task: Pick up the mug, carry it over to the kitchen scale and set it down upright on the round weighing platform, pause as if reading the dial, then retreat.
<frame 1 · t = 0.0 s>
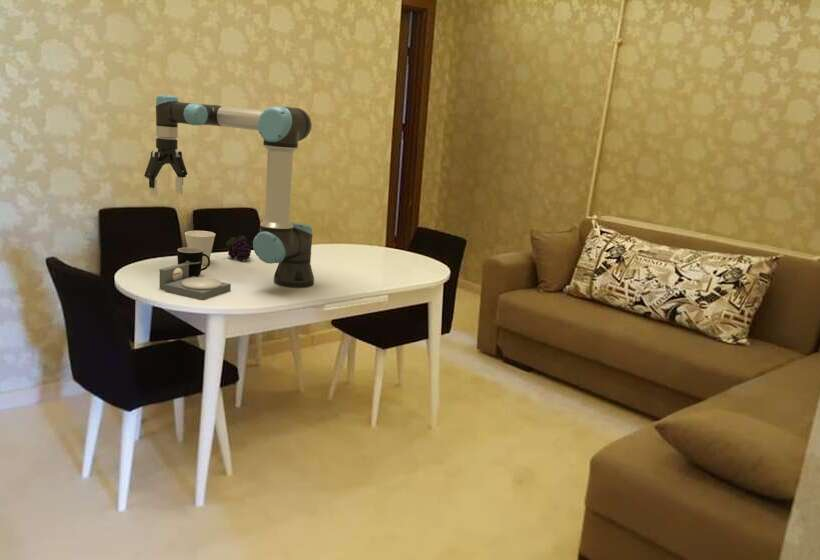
hand: (166, 195, 248), 28 cm above the table, fingers open, 13 cm apart
fruit: (238, 259, 280), on the table
cup: (199, 264, 265), on the table
mug: (193, 276, 246), on the table
scale: (198, 291, 228), on the table
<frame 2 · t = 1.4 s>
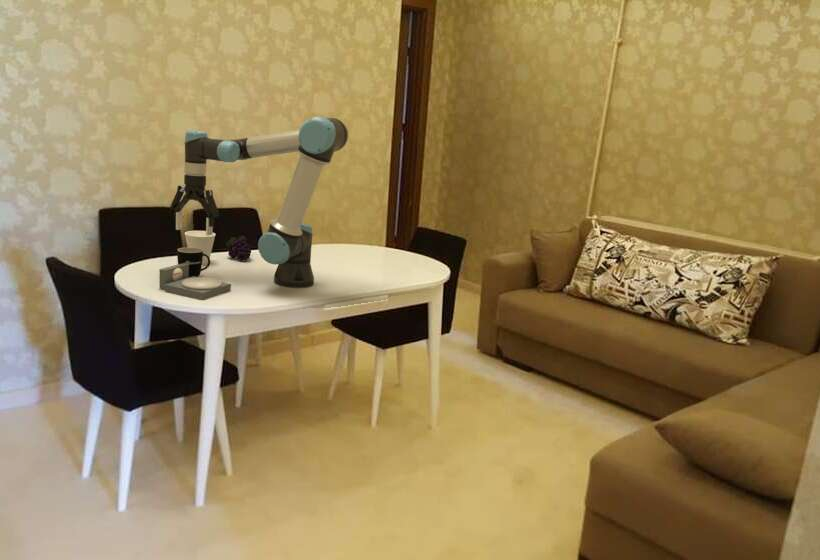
hand: (194, 232, 242), 17 cm above the table, fingers open, 13 cm apart
nothing on the table moved.
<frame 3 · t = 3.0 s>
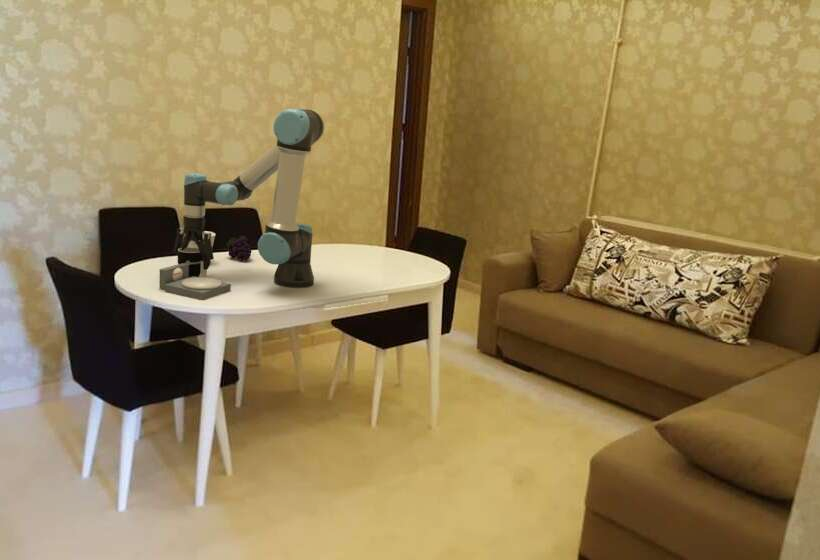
hand: (192, 274, 246), 0 cm above the table, fingers open, 9 cm apart
mug: (194, 276, 246), on the table, touching gripper
everything else where it was.
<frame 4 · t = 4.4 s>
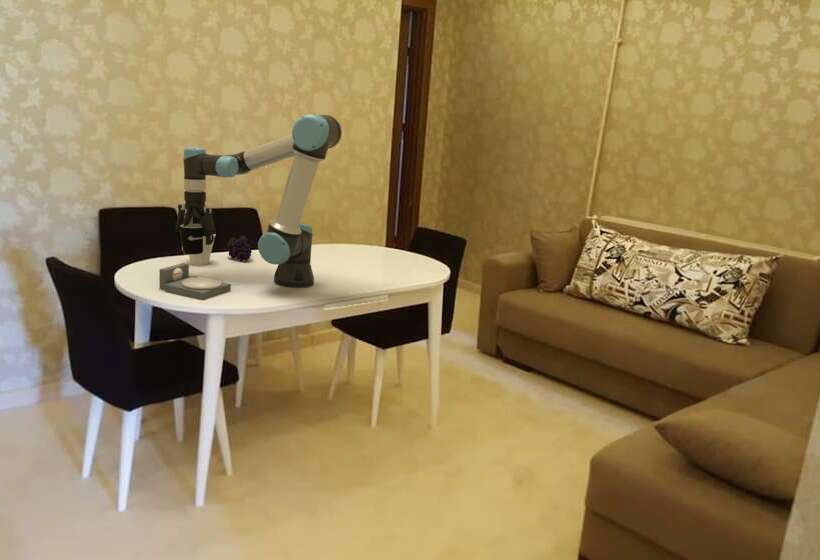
hand: (195, 251, 243), 10 cm above the table, fingers closed on mug, 9 cm apart
mug: (197, 253, 243), point 9 cm above the table, touching gripper
everything else where it was.
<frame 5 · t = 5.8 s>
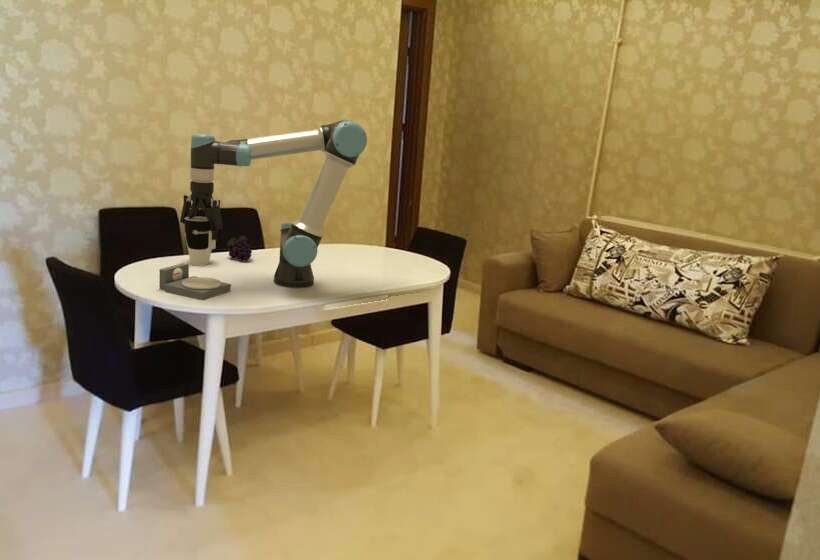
hand: (200, 246, 226), 16 cm above the table, fingers closed on mug, 9 cm apart
mug: (202, 248, 225), point 15 cm above the table, touching gripper
everything else where it was.
when the fingers open (5 cm above the table, at t = 8.5 s): mug drops 1 cm, resting on scale.
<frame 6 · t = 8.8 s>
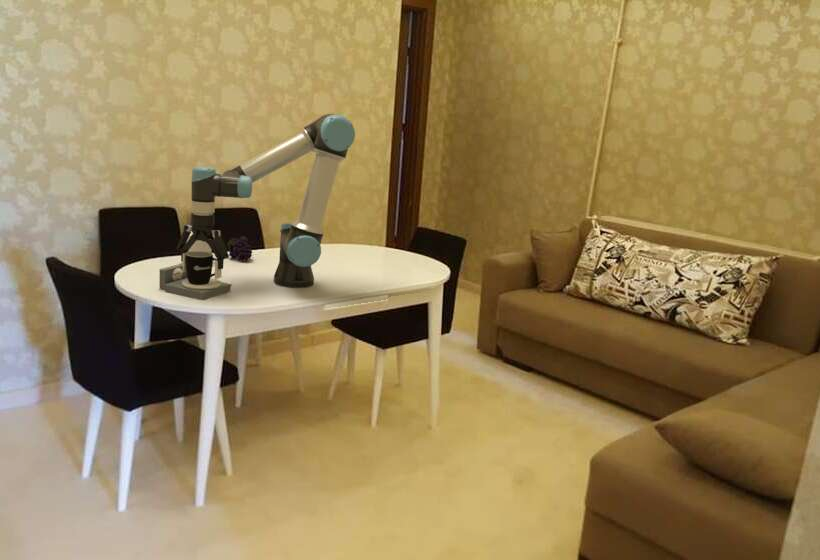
hand: (201, 274, 226), 6 cm above the table, fingers open, 13 cm apart
mug: (203, 282, 226), point 3 cm above the table, touching scale
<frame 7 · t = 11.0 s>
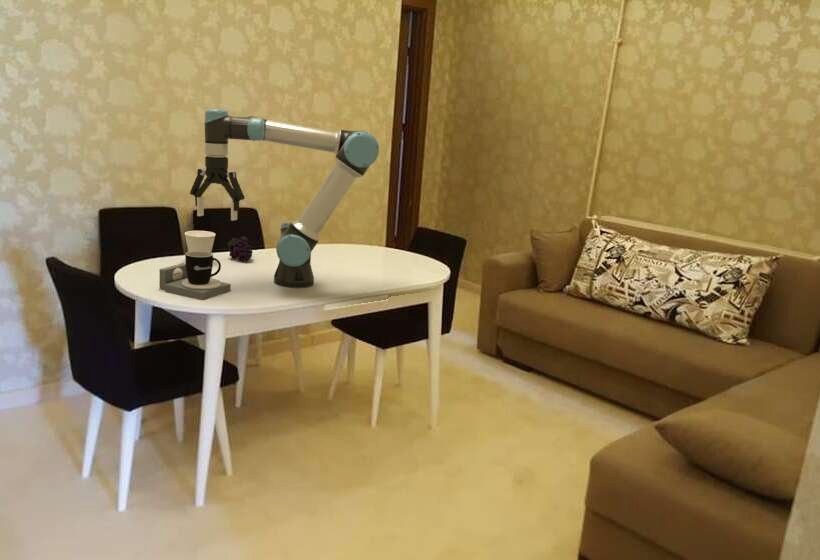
hand: (217, 218, 228), 25 cm above the table, fingers open, 13 cm apart
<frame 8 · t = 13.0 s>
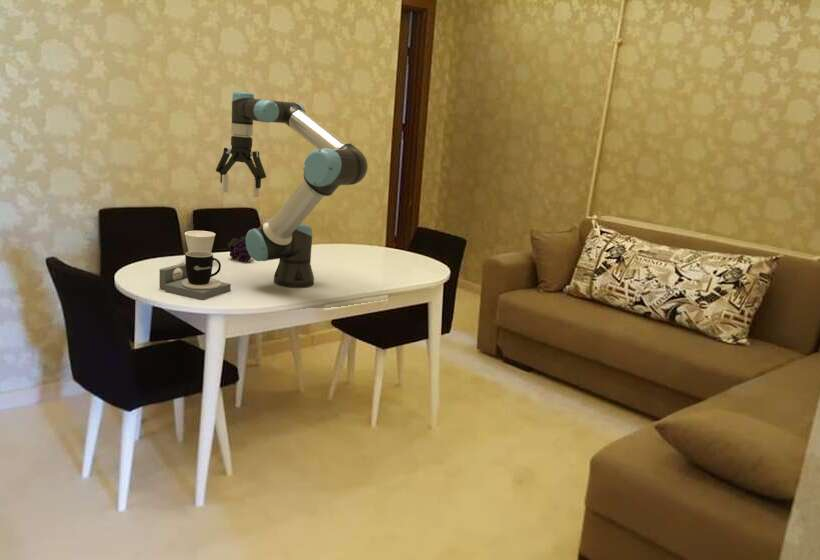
hand: (240, 194, 242), 32 cm above the table, fingers open, 13 cm apart
at the end: mug inside the target area on the scale (0.6 cm from its centre), point 3.3 cm above the scale's base; mug point 3.3 cm above the table; mug tilted 0° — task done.
